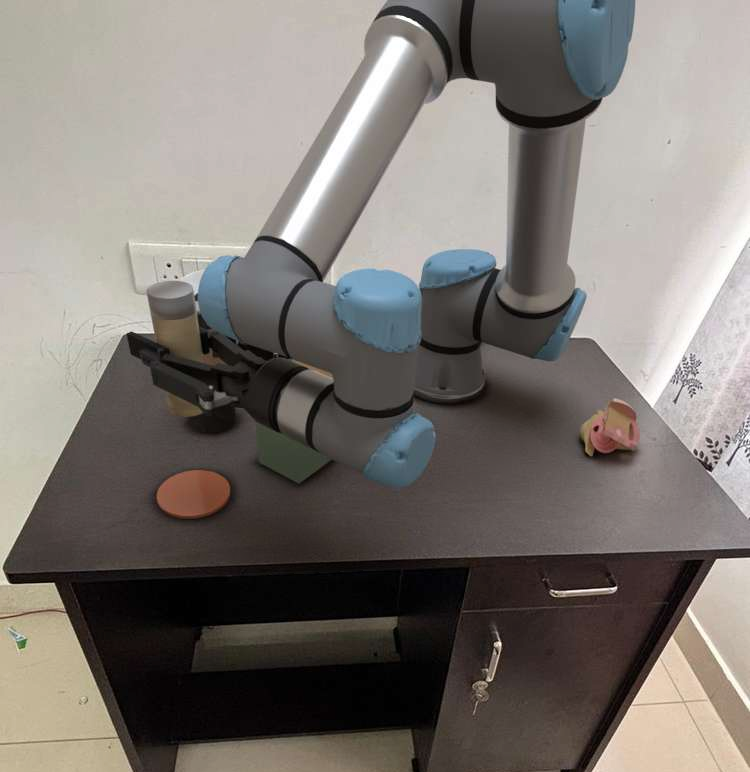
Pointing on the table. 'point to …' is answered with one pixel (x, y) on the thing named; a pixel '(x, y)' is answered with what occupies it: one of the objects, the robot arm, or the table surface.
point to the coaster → (193, 494)
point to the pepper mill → (176, 330)
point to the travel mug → (223, 413)
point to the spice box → (288, 450)
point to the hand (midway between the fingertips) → (151, 334)
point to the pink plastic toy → (611, 429)
